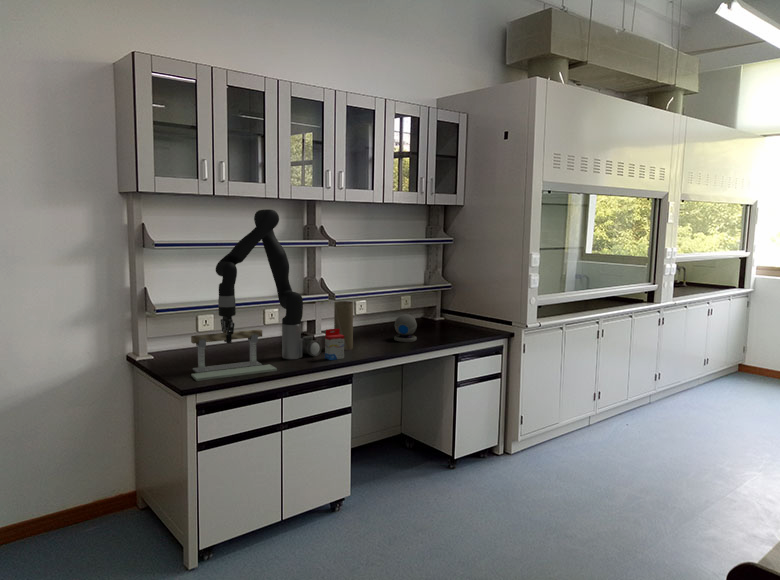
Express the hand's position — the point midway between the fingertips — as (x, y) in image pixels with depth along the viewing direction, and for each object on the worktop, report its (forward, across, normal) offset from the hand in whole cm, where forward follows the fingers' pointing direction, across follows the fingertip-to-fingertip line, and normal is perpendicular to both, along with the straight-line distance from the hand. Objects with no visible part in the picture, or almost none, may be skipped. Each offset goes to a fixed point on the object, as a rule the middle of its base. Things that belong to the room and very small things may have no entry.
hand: (227, 342), depth 270 cm
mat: (+12, -10, 0) cm, 16 cm away
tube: (+13, +13, -67) cm, 69 cm away
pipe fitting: (+13, +8, -44) cm, 46 cm away
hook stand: (+12, 0, 0) cm, 12 cm away
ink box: (+13, -6, -52) cm, 54 cm away
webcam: (+13, +17, -110) cm, 112 cm away
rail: (-1, 0, 0) cm, 1 cm away
